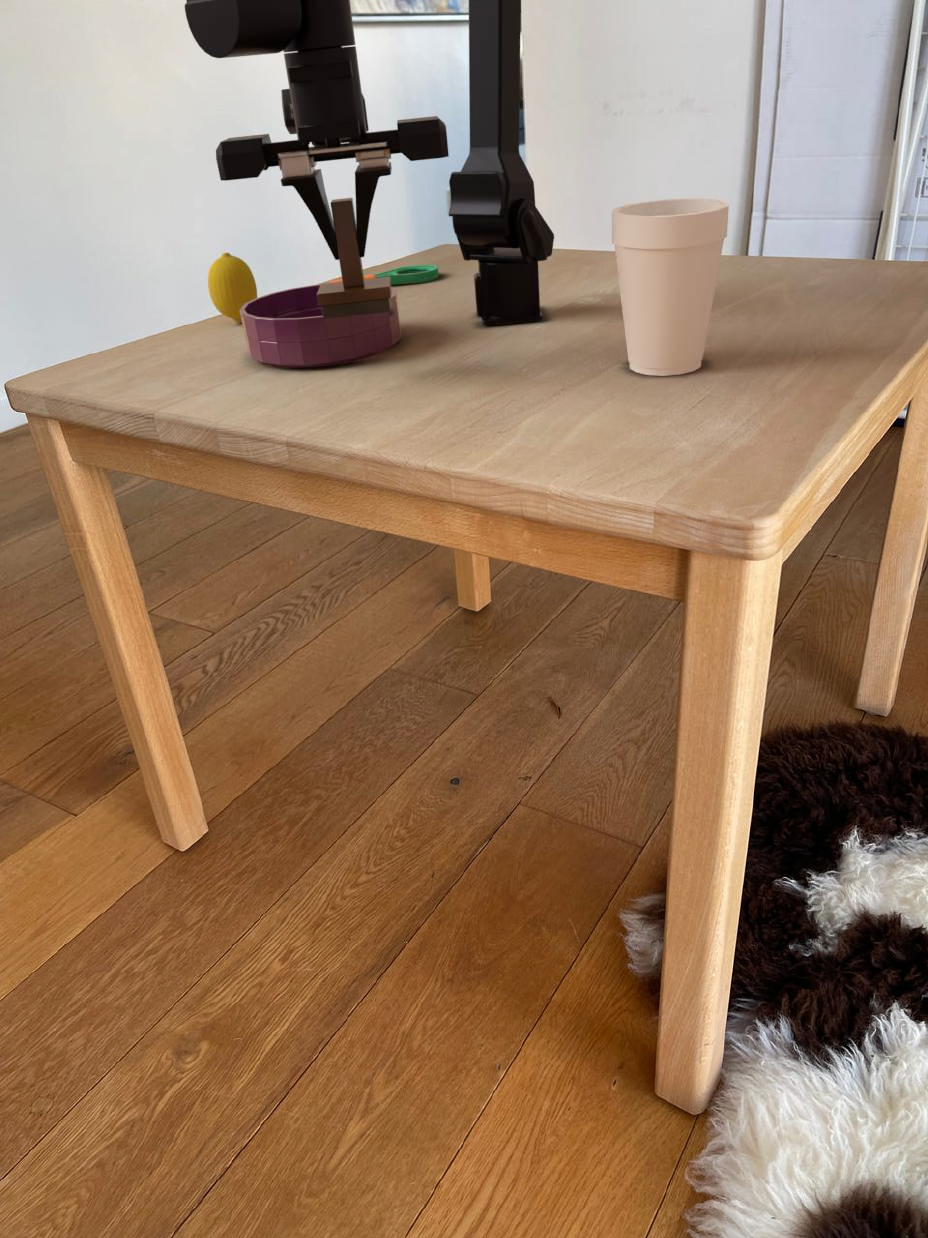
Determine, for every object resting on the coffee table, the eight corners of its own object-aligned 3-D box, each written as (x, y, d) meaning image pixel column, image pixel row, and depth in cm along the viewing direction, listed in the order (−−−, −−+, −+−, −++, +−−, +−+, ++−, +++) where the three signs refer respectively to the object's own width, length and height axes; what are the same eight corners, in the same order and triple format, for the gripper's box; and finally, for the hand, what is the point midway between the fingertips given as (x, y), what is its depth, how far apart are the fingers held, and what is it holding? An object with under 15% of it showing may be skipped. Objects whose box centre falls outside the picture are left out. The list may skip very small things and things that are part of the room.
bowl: (403, 323, 104) (398, 276, 102) (400, 362, 90) (393, 309, 88) (262, 336, 104) (253, 290, 102) (238, 377, 91) (227, 325, 88)
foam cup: (654, 388, 77) (657, 220, 70) (591, 364, 84) (589, 211, 78) (742, 365, 80) (753, 203, 74) (674, 344, 88) (679, 195, 81)
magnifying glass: (426, 272, 128) (425, 259, 128) (446, 277, 124) (445, 264, 123) (325, 291, 123) (323, 278, 122) (341, 298, 118) (339, 284, 117)
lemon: (252, 327, 108) (237, 255, 104) (208, 329, 110) (193, 258, 105) (269, 316, 113) (256, 246, 109) (228, 317, 114) (213, 249, 110)
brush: (393, 300, 85) (379, 192, 80) (392, 312, 82) (378, 199, 77) (324, 308, 85) (306, 200, 80) (320, 319, 82) (301, 207, 77)
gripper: (434, 38, 80) (451, 231, 88) (220, 61, 80) (257, 252, 88) (438, 36, 70) (457, 252, 78) (194, 62, 70) (239, 275, 78)
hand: (350, 257), depth 81 cm, fingers closed on brush, 2 cm apart
